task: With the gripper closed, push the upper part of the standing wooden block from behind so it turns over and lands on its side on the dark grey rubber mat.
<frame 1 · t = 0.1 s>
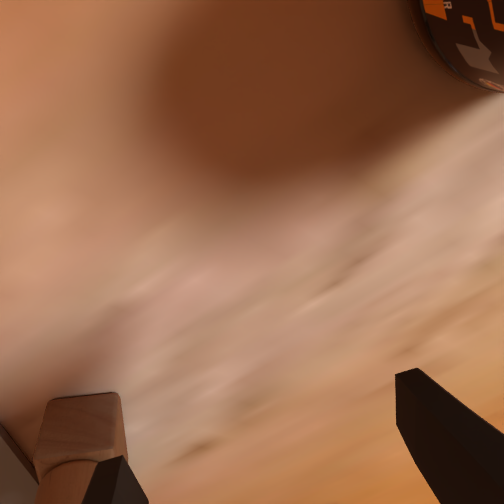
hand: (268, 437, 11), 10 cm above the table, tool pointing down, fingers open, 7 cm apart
wooden block: (97, 456, 25), on the table
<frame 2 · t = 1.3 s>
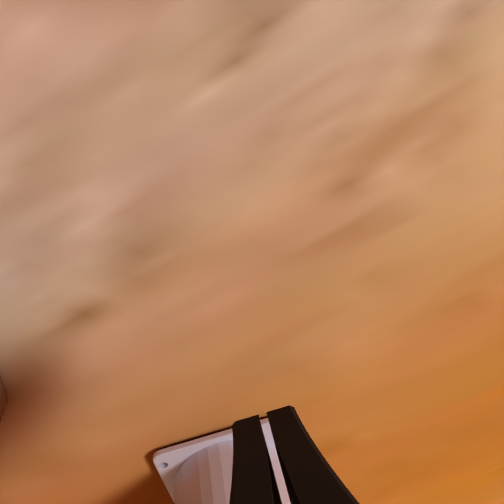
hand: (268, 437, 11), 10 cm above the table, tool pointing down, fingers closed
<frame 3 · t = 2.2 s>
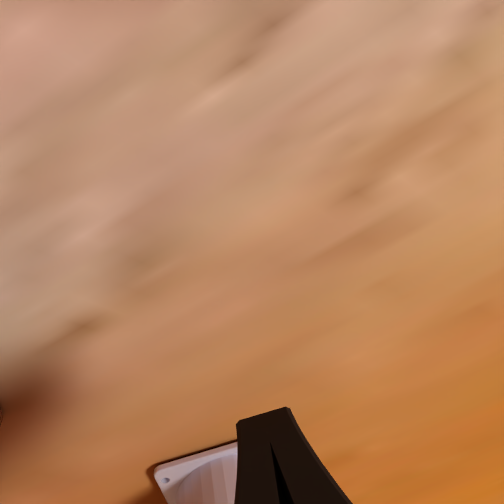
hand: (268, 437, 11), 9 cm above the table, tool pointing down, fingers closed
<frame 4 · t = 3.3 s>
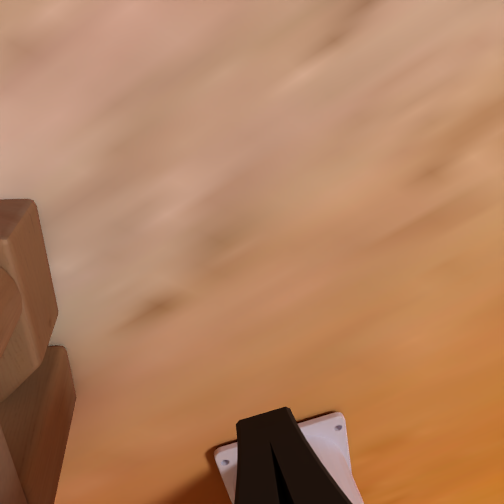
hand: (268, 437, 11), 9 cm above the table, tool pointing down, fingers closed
wooden block: (18, 310, 19), on the table
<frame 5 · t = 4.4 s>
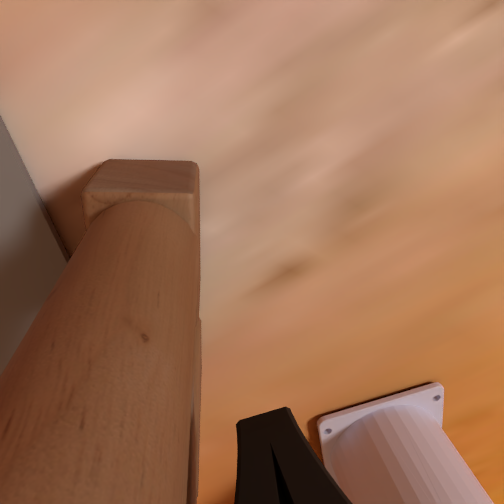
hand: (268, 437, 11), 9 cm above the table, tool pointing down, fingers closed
wooden block: (160, 275, 19), on the table
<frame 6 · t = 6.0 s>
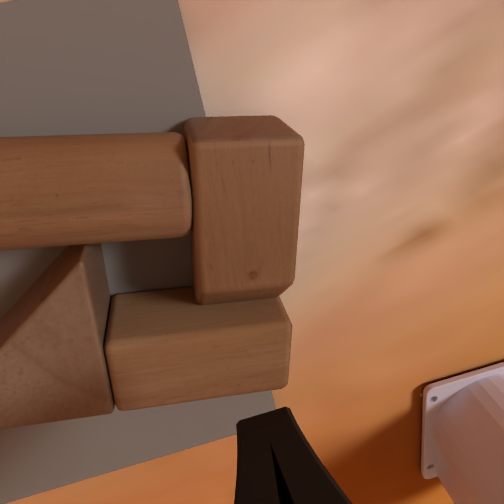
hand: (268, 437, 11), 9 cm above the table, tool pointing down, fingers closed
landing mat: (15, 315, 18), on the table
wooden block: (290, 260, 17), point 2 cm above the table, touching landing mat
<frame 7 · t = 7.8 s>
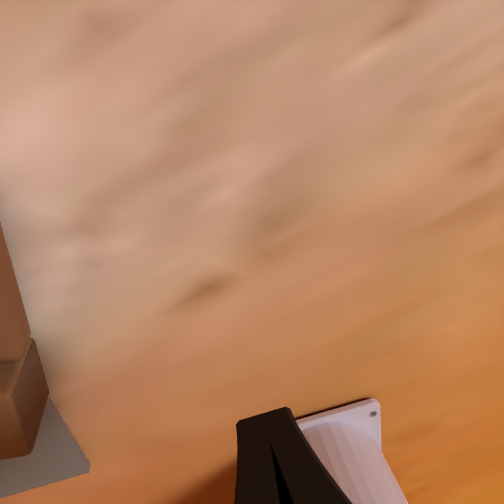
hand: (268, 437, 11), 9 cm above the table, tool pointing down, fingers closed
wooden block: (20, 325, 16), point 2 cm above the table, touching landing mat
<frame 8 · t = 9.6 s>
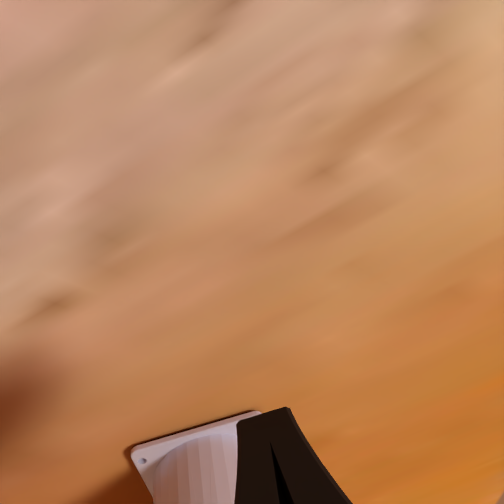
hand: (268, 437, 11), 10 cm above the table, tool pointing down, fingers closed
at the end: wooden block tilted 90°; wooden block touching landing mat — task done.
